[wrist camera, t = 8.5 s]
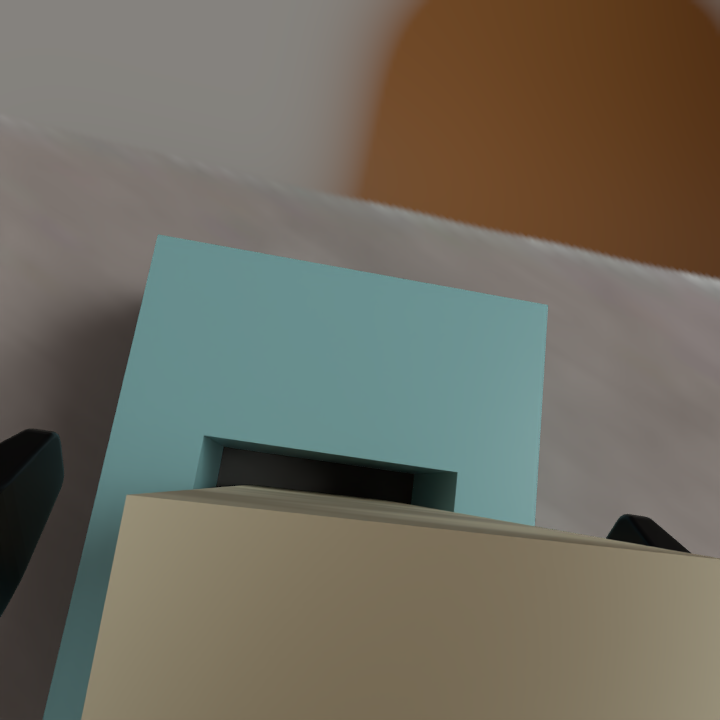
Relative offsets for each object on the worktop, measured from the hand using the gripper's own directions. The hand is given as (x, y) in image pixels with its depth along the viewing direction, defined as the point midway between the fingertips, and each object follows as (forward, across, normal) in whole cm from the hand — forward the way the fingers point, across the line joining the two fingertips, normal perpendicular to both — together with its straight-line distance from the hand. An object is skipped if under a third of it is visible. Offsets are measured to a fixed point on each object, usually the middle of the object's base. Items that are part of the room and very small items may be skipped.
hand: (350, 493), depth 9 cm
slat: (+5, 0, +7) cm, 9 cm away
